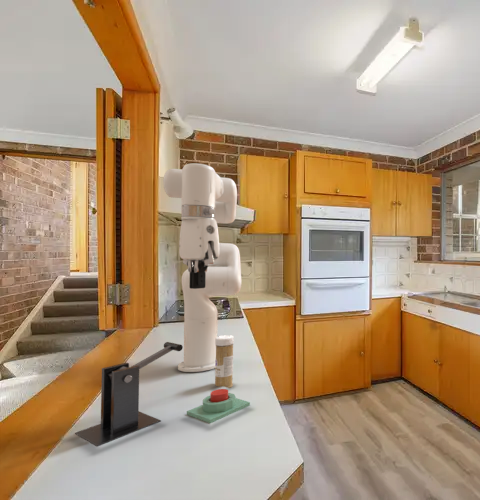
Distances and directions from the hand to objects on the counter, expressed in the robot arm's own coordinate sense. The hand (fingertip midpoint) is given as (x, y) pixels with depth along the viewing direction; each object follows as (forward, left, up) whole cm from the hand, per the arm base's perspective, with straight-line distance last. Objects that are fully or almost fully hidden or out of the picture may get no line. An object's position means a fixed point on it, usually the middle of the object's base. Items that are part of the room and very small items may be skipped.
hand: (197, 288), depth 87 cm
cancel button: (+3, +13, -24) cm, 27 cm away
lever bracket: (+18, +3, -27) cm, 33 cm away
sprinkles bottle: (-8, 0, -27) cm, 28 cm away
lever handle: (+13, +3, -15) cm, 20 cm away
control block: (+3, +13, -27) cm, 30 cm away
